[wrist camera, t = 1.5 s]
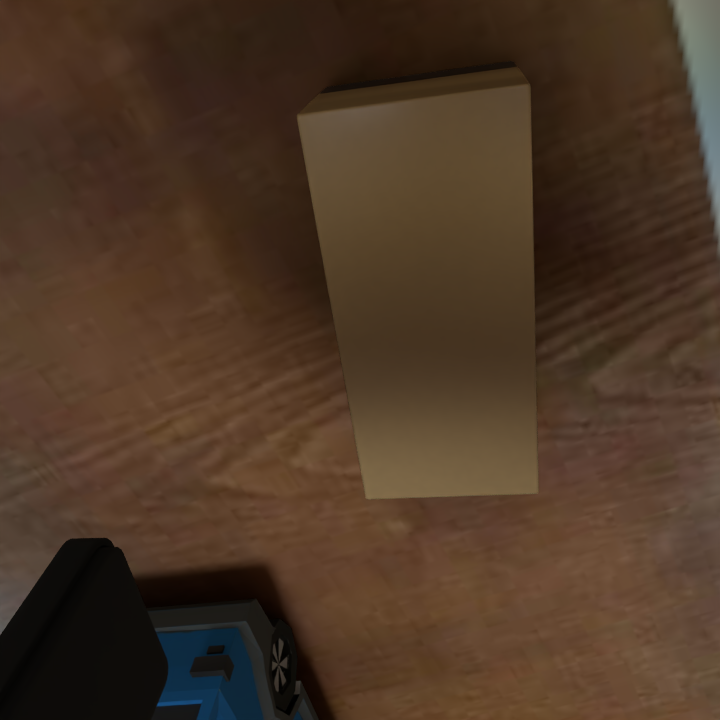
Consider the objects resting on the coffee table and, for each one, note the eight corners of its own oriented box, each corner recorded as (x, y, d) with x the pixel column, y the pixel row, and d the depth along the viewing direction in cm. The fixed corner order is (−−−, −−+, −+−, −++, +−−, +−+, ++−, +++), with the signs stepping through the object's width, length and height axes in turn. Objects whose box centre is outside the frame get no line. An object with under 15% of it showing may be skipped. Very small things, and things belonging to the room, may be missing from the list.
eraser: (324, 86, 18) (295, 114, 15) (514, 60, 17) (530, 82, 14) (377, 422, 24) (365, 500, 20) (525, 414, 23) (539, 494, 19)
